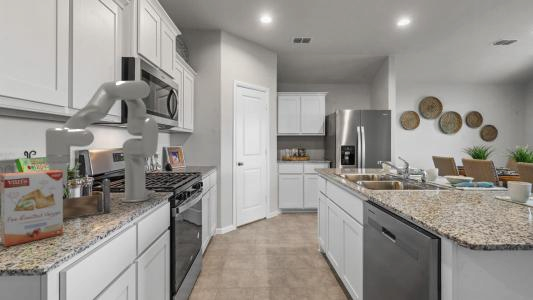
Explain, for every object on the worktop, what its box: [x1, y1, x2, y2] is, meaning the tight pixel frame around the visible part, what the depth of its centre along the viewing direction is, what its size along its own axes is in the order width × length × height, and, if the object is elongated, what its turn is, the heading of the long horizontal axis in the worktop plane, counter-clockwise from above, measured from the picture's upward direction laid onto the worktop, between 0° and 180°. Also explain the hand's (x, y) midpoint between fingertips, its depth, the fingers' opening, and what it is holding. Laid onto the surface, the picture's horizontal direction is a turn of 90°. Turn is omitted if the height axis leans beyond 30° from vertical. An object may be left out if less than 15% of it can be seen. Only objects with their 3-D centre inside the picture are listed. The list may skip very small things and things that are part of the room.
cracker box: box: [0, 170, 64, 247], centre depth 84 cm, size 14×6×21 cm, turn 143°
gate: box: [63, 193, 103, 219], centre depth 105 cm, size 21×2×7 cm, turn 134°
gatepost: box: [101, 178, 111, 215], centre depth 114 cm, size 3×3×14 cm
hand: (59, 206), depth 105 cm, fingers closed
